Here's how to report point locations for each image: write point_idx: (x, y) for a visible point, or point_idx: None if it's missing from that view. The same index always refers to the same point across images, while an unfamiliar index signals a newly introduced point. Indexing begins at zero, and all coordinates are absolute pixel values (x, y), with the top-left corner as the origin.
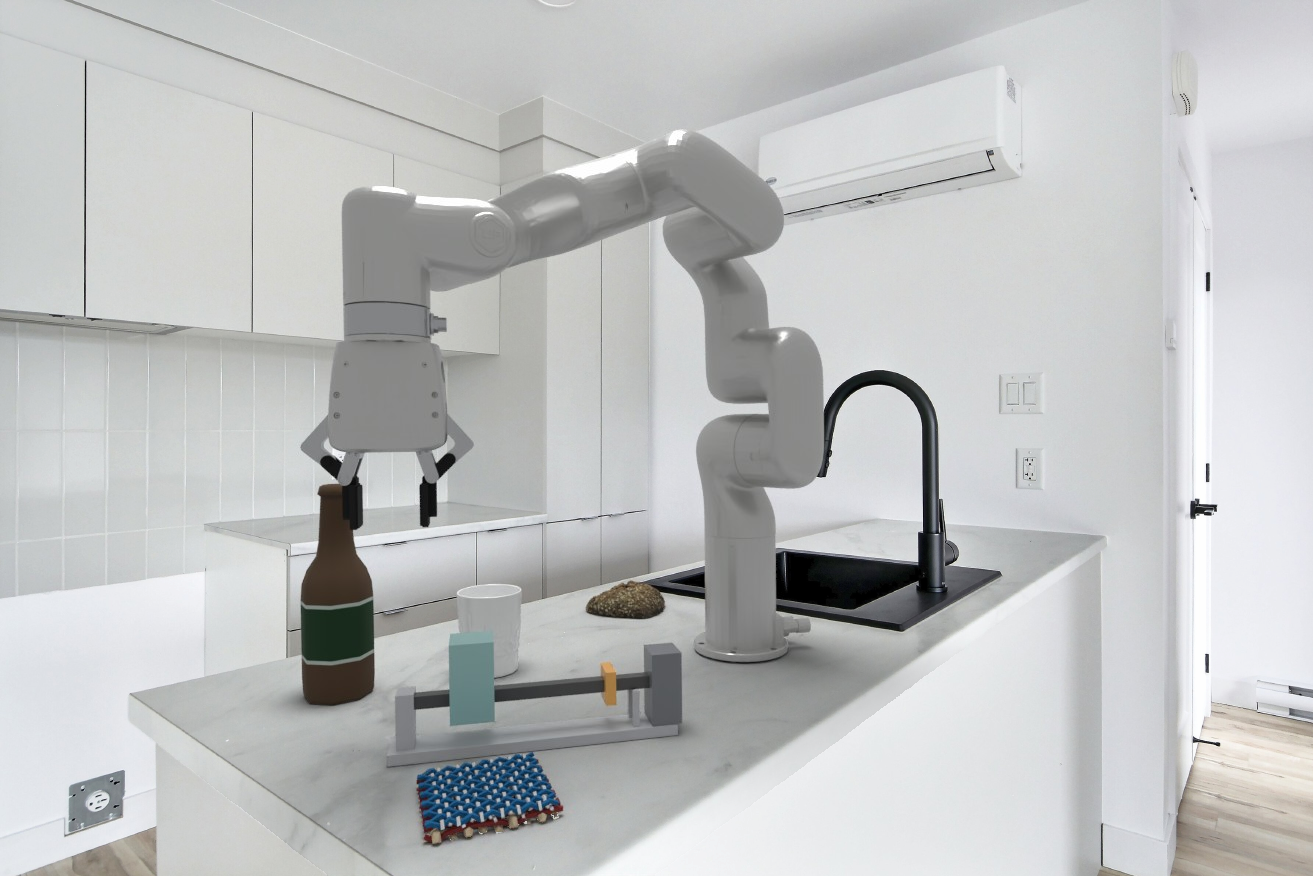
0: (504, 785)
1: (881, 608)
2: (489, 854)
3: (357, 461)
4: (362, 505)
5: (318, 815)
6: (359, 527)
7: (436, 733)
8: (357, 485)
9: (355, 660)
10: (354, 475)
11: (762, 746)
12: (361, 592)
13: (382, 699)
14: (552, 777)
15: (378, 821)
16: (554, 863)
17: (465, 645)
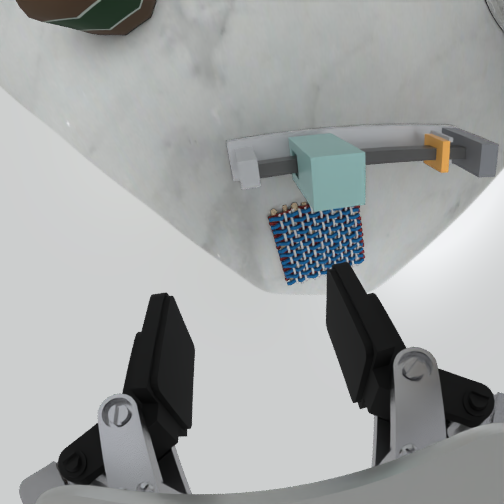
0: (334, 242)
1: None
2: (321, 286)
3: (190, 492)
4: (167, 337)
5: (207, 246)
6: (189, 336)
7: (269, 135)
8: (171, 415)
9: (135, 11)
10: (158, 439)
11: (480, 184)
12: None
13: (176, 14)
14: (363, 207)
15: (251, 255)
16: None
17: (333, 208)
